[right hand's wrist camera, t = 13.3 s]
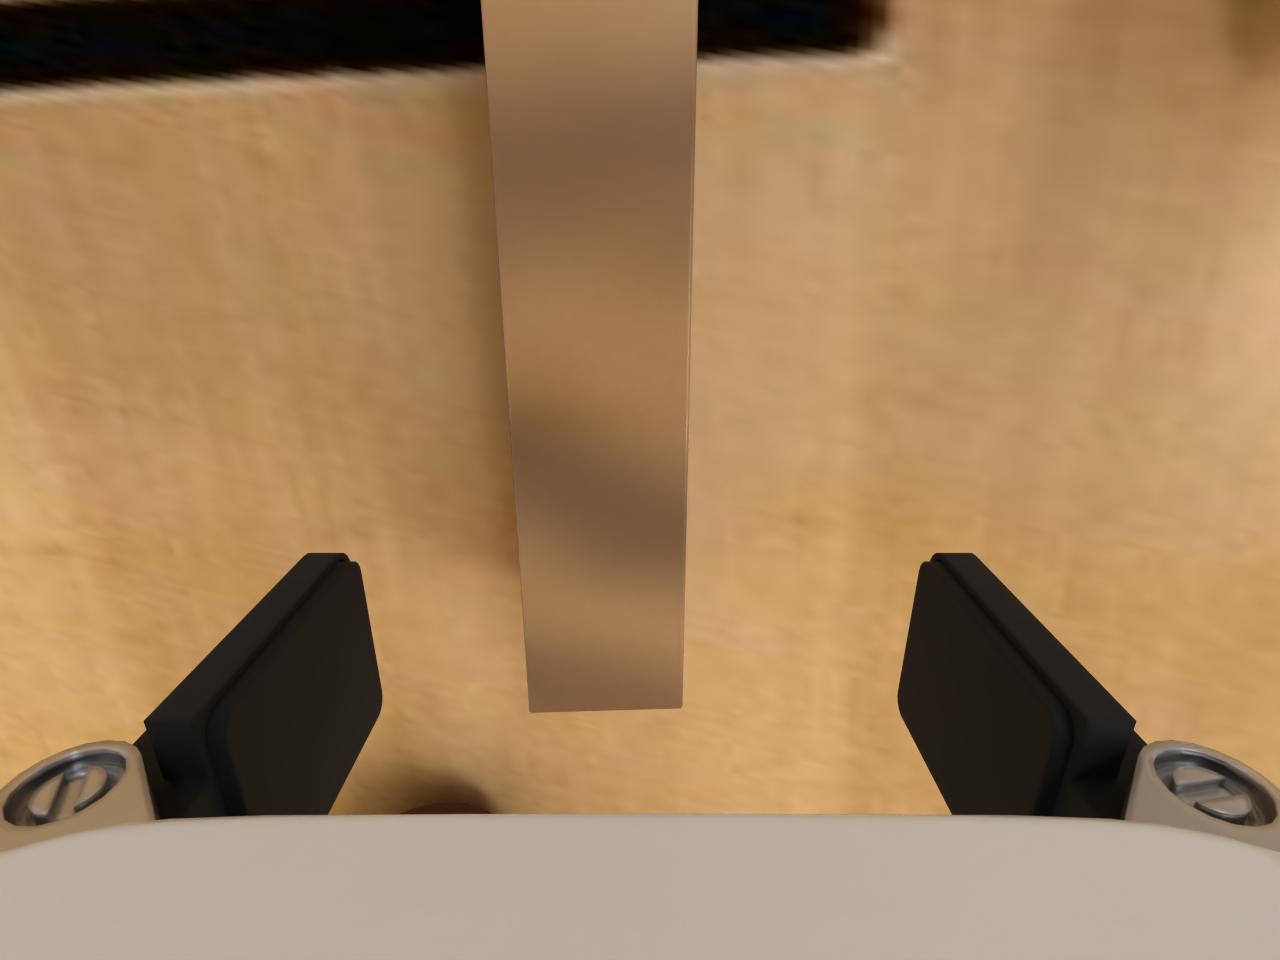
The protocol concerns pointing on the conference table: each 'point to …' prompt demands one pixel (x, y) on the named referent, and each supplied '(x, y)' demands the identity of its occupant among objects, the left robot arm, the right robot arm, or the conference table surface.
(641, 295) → the beam
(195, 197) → the conference table surface
